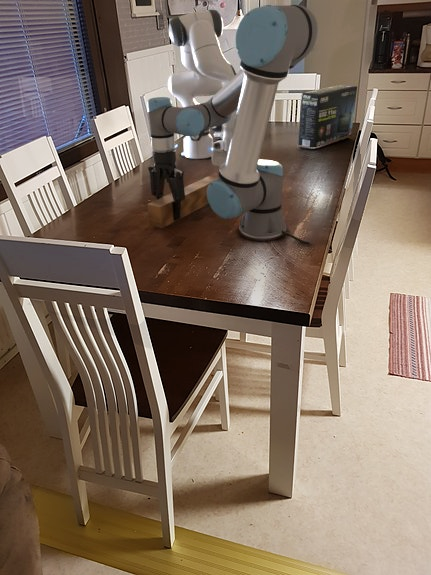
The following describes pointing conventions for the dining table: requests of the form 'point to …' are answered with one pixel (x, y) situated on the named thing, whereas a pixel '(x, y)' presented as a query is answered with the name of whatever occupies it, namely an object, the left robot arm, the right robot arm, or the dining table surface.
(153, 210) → the bar
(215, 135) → the fossil
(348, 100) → the router box
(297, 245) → the dining table surface
